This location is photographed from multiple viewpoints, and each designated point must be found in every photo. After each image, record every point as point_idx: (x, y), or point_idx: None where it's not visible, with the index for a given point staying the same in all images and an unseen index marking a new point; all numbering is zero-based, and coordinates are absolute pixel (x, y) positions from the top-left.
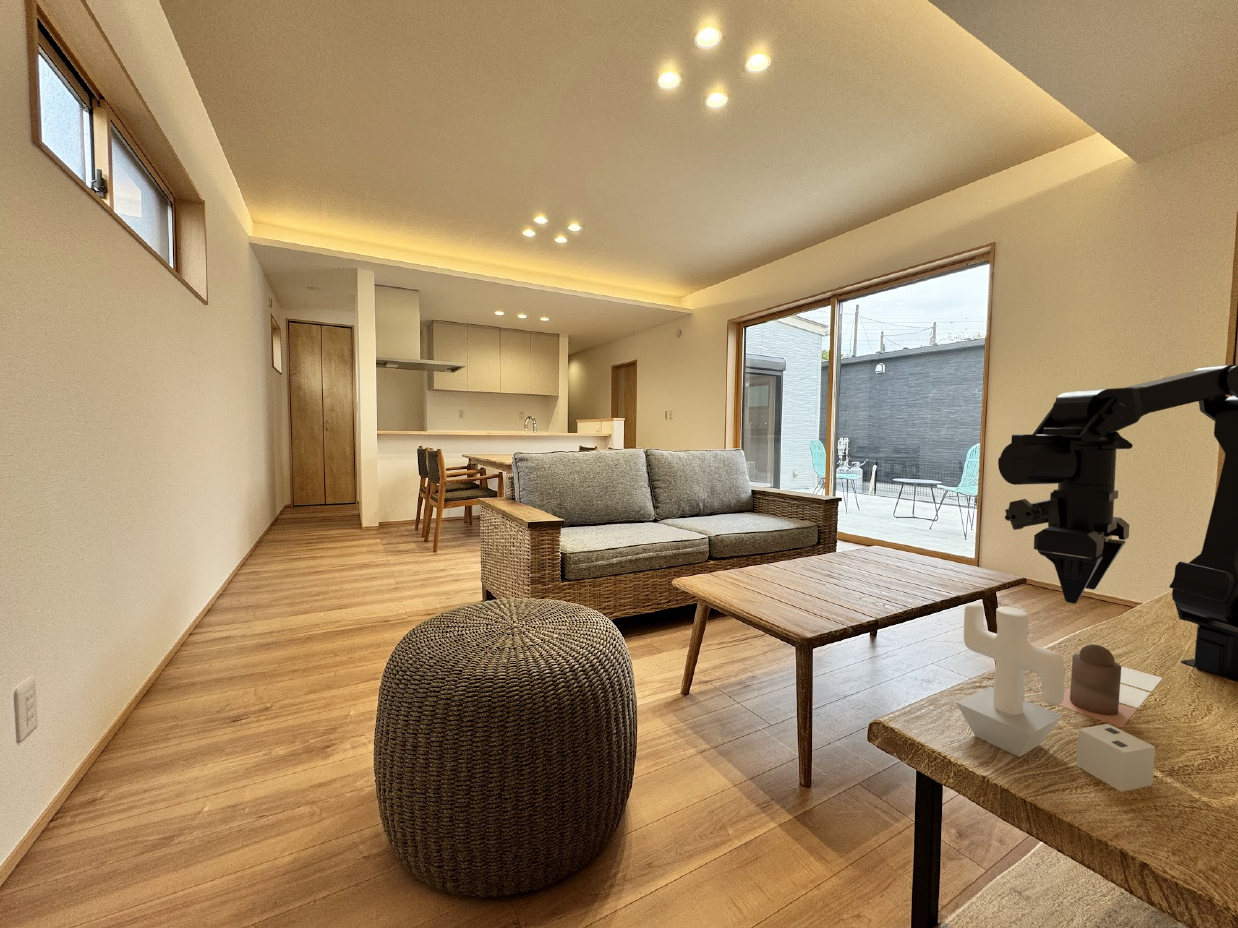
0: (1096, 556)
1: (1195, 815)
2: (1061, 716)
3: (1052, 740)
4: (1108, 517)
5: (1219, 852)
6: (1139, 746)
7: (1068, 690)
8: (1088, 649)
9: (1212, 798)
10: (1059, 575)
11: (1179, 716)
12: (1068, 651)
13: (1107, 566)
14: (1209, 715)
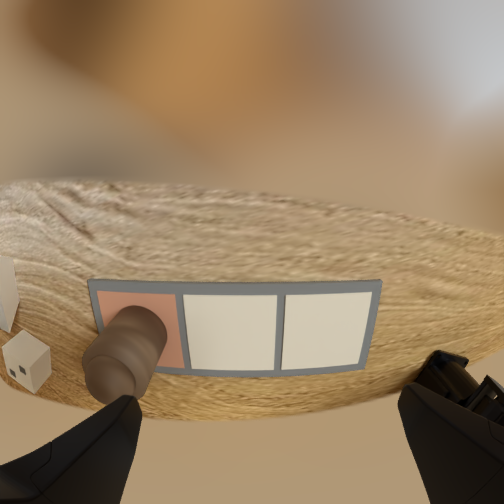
0: None
1: (47, 389)
2: (7, 331)
3: (34, 307)
4: None
5: (30, 392)
6: (24, 384)
7: (163, 296)
8: (86, 380)
9: (76, 401)
10: (44, 451)
11: (230, 393)
12: (395, 235)
13: (428, 490)
14: (267, 408)
